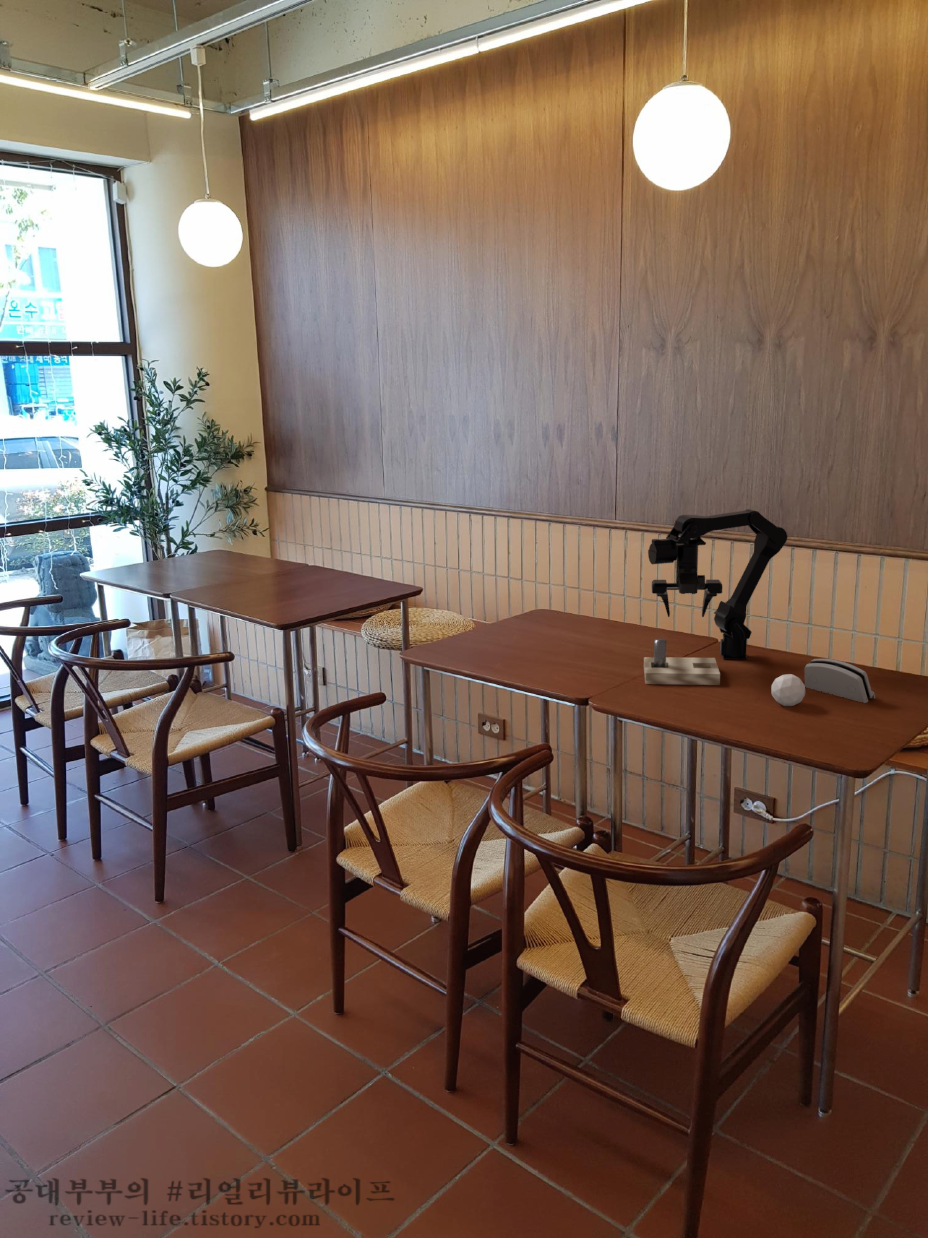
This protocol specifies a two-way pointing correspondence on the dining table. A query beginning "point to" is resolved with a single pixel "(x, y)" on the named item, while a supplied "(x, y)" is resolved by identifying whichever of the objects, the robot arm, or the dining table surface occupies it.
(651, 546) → the robot arm
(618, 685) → the dining table surface
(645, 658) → the dock board
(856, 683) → the grey napkin holder
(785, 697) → the geometric ball
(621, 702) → the dining table surface
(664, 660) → the pin
